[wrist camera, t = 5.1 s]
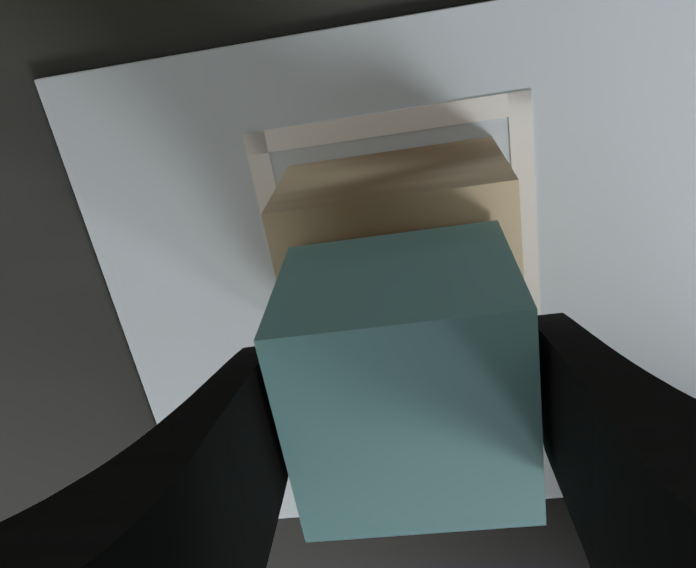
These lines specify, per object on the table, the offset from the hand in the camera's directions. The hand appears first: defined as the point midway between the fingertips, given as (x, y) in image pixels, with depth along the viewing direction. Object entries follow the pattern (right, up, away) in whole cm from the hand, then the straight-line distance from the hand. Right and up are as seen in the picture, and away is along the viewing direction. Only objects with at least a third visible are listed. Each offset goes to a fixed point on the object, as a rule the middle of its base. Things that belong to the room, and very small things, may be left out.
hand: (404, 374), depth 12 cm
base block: (0, +3, +6) cm, 7 cm away
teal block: (0, +1, +2) cm, 2 cm away
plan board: (+1, +1, +7) cm, 7 cm away
